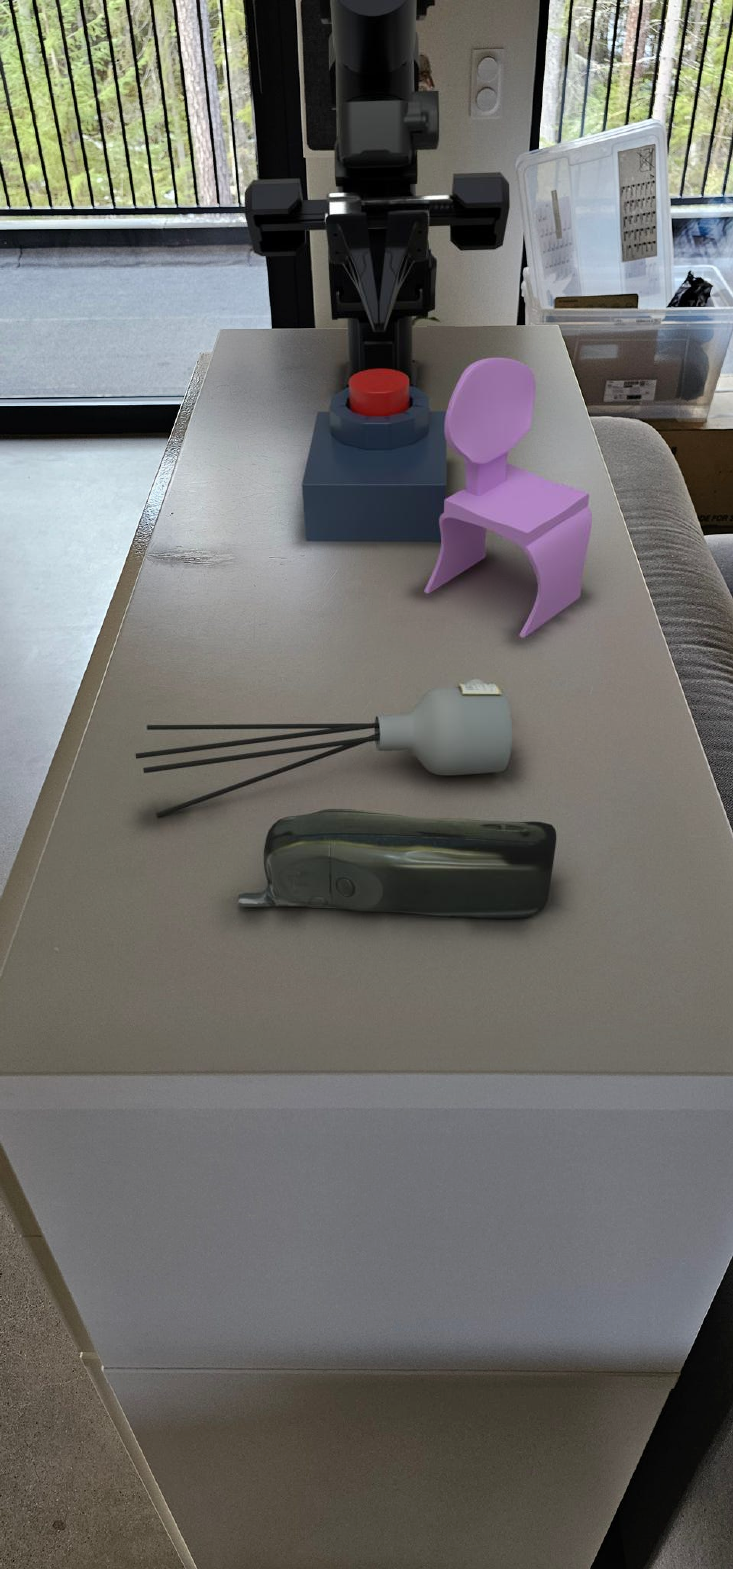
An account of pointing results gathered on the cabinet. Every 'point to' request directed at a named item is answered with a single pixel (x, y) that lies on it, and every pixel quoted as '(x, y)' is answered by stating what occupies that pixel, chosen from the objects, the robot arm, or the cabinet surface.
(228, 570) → the cabinet surface
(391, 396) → the button
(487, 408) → the toy chair
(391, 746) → the reed diffuser
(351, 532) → the switch box
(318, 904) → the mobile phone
